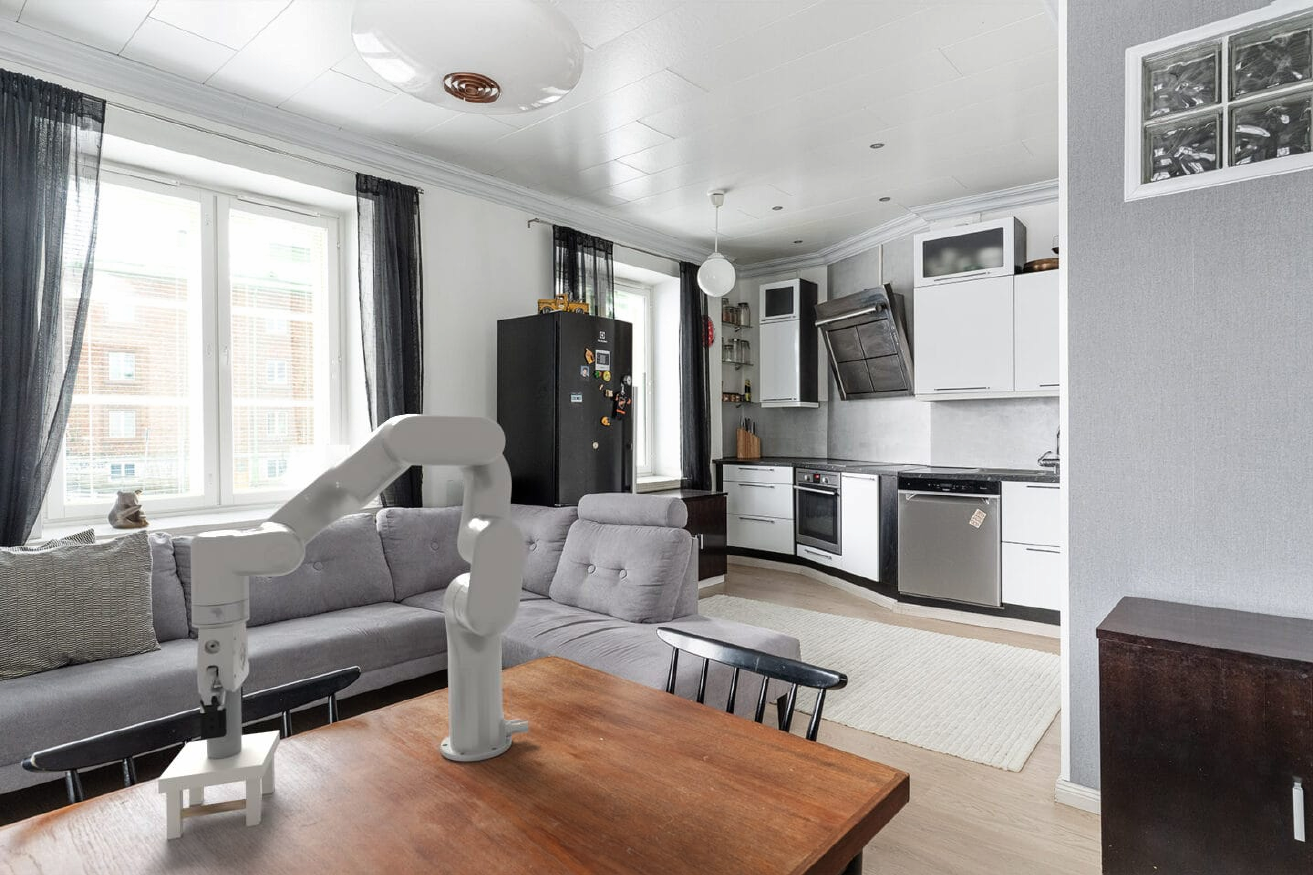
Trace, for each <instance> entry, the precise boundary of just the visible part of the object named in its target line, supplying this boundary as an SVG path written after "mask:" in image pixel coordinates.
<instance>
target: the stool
mask: <svg viewBox="0 0 1313 875" xmlns="http://www.w3.org/2000/svg"><path fill="white" fill-rule="evenodd" d="M280 732H281V731H280V730H273V731H265V732H257V733H250V734H249V733H248V734H242V749H241V751H240V752H239V753H237V754H235V755H233V756H230V757H227V758H222V759H210V758H208V757H207V739H201V740H197V741H188V742H187V743H186V744H185V745H184V747H183V748H182V749H180V751H179V753H178V754H177V755H176V757H175V758H174V759H173V761H172V762H171V763H170V764H169V765H168V767H167V768H166V769H165V770H164V772H162V774H161V775H160V777H159V778H158V783H157V784H158V794H165V793H166V794H165V798H166V800H165V802H166V807H165V808H166V810H165V811H166V840H168V841H169V840H174V839H180V838H181V837H182V835H183V834H184V832H185V830H184V828H185V827H184V822H185V820H184V819H188V818H194V817H201V816H209V815H212V814H219V813H227V812H234V811H238V810H245V811H246V812H245V815H246V816H245V817H246V821H245V822H246V827H252V826H259V825H260V823H261V820H262V795H265V794H273V793H274V790H275V789H276V788H275V787H276V785H275V784H276V783H275V782H276V781H275V779H276V777H275V753H276V751H277V749H278V747H279V745H280V743H281V742H280V741H281V739H280ZM239 782H245V798H242V799H236V800H231V801H230V800H229V801H222V802H216V803H211V804H204V805H201V804H203V802H204V800H205V788H206V787H212V786H218V785H220V786H221V785H226V784H227V785H228V784H232V783H233V784H234V783H239ZM184 790H188V797H189V798H188V799H189V800H188V803H189V804H188V805H189V806H191V807H184ZM196 805H197V806H196Z"/></svg>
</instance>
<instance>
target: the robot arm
mask: <svg viewBox="0 0 1313 875" xmlns="http://www.w3.org/2000/svg"><path fill="white" fill-rule="evenodd" d="M505 446H506V435H505V432H504V430H503V428H502V426H501V425H500V424H499V423H498V422H497V421H495V420H493V419H491V418H489V417H486V416H473V415H472V416H470V415H466V416H462V415H433V414H430V415H429V414H416V413H413V414H412V413H411V414H410V413H408V414H403V415H396V416H394V417H391V418H389V419H388V420H386V421H385V422H382V423H381V425H380V426H378V427H377V428H376V429H374V430H373V431H372V432H371V433H370V434H369V435H367V436H366V437H365V438H364V439H362V441H360V443H358V444H357V445H356V446H355V447H353V448H352V449H351V450H350V451H349V452H348V453H346V454H345V455H344V456H343V457H341V459H339V460H338V461H337V462H336V463H334V464H333V465H332V466H331V467H330V468H328V469H327V470H326V471H324V472H323V473H322V474H320V475H319V476H318V477H317V478H316V479H315V480H314V481H312V482H311V483H310V484H309V485H308V486H306V487H305V488H304V489H302V491H300V492H298V493H297V494H296V495H295V496H293V497H292V498H291V499H290V500H289V501H287V502H286V503H285V504H284V505H282V506H281V507H280V508H279V509H278V510H277V511H276V512H274V513H273V514H272V515H271V516H268V518H267V519H266V520H264V521H263V522H262V523H261V524H260V525H259V526H258V527H257V528H256V529H255V530H254V531H253V532H246V533H245V532H243V531H241V530H237V529H236V530H233V529H230V530H229V529H224V530H223V529H222V530H214V531H206V532H200V533H198V534H196V535H194V537H193V538H192V539H191V542H190V590H191V592H190V593H191V598H190V599H191V600H190V601H191V627H192V628H195V629H198V638H197V639H198V640H197V653H196V654H197V655H196V656H197V658H196V660H197V664H196V666H197V667H196V672H197V673H196V675H197V677H196V678H197V679H196V680H197V681H196V682H197V689H198V690H197V691H198V693H199V694H200V696H201V699H200V701H199V702H200V707H199V711H200V712H199V713H200V715H199V717H200V724H199V725H200V739H201V740H207V739H212V738H219V737H224V736H225V735H226V734H227V715H226V708H224V702H225V696H226V691H227V690H230V692H234V691H235V690H237V689H238V687H239V686H240V685H241V713H242V712H243V711H244V690H243V689H244V686H243V682H244V681H246V679H247V677H248V676H249V673H250V662H249V658H250V657H249V644H248V632H247V623H246V622H247V621H249V620H250V617H251V616H250V585H249V584H250V577H281V576H286V575H288V574H291V573H292V572H294V571H296V570H297V569H298V568H299V567H300V566H301V565H302V563H303V561H304V560H305V556H306V546H307V545H308V544H309V543H310V542H312V540H314V539H315V538H316V536H318V535H319V534H320V533H321V532H323V531H324V530H325V529H326V528H328V527H329V526H331V525H332V524H334V523H335V522H336V521H339V520H340V519H342V518H344V517H346V516H349V515H352V514H353V513H356V512H358V511H360V510H361V509H364V507H367V505H369V504H370V503H371V502H373V501H374V499H376V498H377V497H378V496H379V495H380V494H381V493H382V492H384V490H385V489H386V488H388V486H390V485H391V484H392V483H393V482H394V481H395V480H397V479H398V478H399V477H400V476H401V475H403V474H404V473H405V472H406V471H408V469H409V468H411V467H412V466H427V467H429V466H433V467H439V466H440V467H441V466H442V467H450V466H451V467H453V466H455V467H458V468H459V469H460V471H461V474H462V476H463V483H464V485H463V486H464V489H463V502H462V503H463V504H462V509H461V515H460V524H459V528H458V529H459V530H458V534H457V539H456V540H457V541H456V544H457V545H456V546H457V551H458V553H459V555H460V556H461V558H462V559H463V560H464V561H465V562H467V563H468V564H470V572H465V573H462V574H460V575H458V576H457V577H455V578H453V580H452V581H451V582H450V583H449V585H448V586H447V588H446V590H445V593H444V598H443V614H444V615H443V616H444V621H445V631H446V640H447V681H448V682H447V684H448V687H447V688H448V732H449V734H448V736H446V737H445V738H444V739H442V741H441V742H440V753H441V755H442V756H443V757H445V758H446V759H448V760H452V761H455V762H479V761H485V760H488V759H491V758H494V757H498V756H499V755H501V754H503V753H505V752H506V751H507V750H508V749H509V748H510V747H511V745H512V742H513V738H512V735H513V734H523V733H529V732H530V725H529V721H528V720H526V721H521V718H514V719H511V720H510V719H507V718H505V716H504V715H505V714H504V712H503V670H502V669H503V668H502V667H503V666H502V664H503V663H502V661H503V660H502V659H503V654H502V653H503V652H502V650H503V649H502V648H503V647H502V636H501V635H502V634H504V633H506V632H507V631H508V630H509V629H510V628H511V626H512V625H513V624H514V623H515V620H516V618H517V615H518V612H519V608H520V603H521V596H522V588H523V581H524V573H525V568H526V567H525V565H526V559H527V546H526V544H527V543H526V539H525V535H524V533H523V531H522V529H521V528H520V527H519V526H518V525H517V524H516V523H515V522H514V521H512V520H510V512H511V511H510V510H511V501H512V500H511V498H512V488H513V487H512V483H513V482H512V475H511V471H510V470H511V469H510V466H509V463H508V461H507V460H506V457H505V456H504V454H503V452H504V450H505ZM217 687H222V688H217ZM214 688H216V689H214ZM215 695H219V701H218V699H217V697H216V696H215Z"/></svg>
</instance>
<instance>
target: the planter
mask: <svg viewBox="0 0 1313 875" xmlns="http://www.w3.org/2000/svg"><path fill="white" fill-rule="evenodd" d="M217 688H222V687H217ZM214 689H216V688H214ZM215 696H216V697H217V699H218V701H219V695H215ZM224 708H226V715H227V734H226V735H225V736H224V737H219V738H212V739H206V740H207V757H208V758H210V759H222V758H227V757H230V756H233V755H235V754H237V753H239V752H240V751H241V749H242V735H243V732H242V712H241V685H240V686H239V687H238V689H237V690H235V691H234V692H230V690H227V691H226V696H225V702H224Z"/></svg>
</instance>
